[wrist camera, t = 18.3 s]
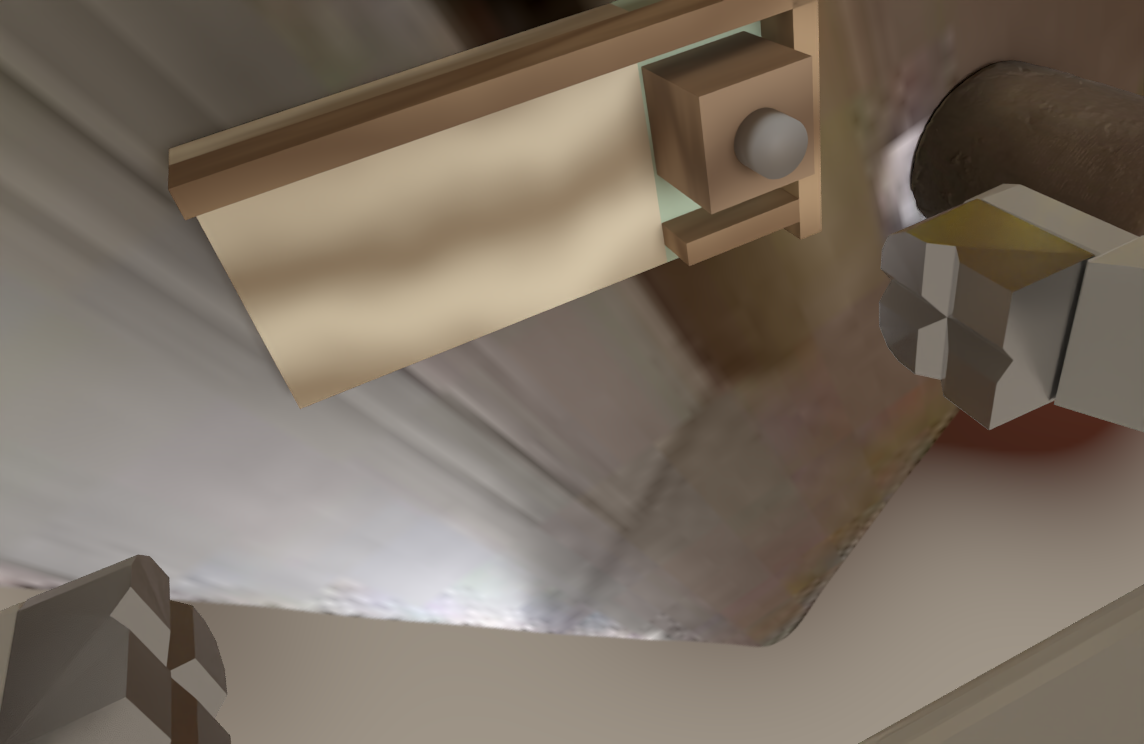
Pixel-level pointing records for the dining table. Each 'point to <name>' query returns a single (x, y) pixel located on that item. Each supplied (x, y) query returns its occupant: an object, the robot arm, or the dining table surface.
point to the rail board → (471, 190)
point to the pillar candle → (1036, 143)
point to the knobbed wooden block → (731, 119)
